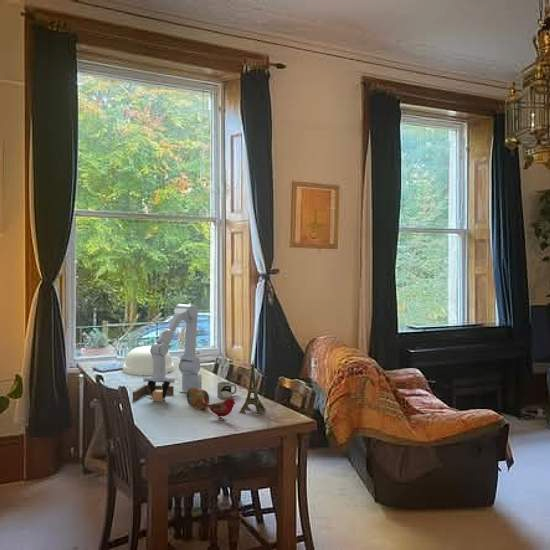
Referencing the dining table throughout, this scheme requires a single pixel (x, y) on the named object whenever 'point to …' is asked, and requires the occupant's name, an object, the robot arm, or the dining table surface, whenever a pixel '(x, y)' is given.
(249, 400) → the eiffel tower
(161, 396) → the cube
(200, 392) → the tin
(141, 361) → the dome cover
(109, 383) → the dining table surface
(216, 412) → the decorative bird figurine
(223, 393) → the mug
